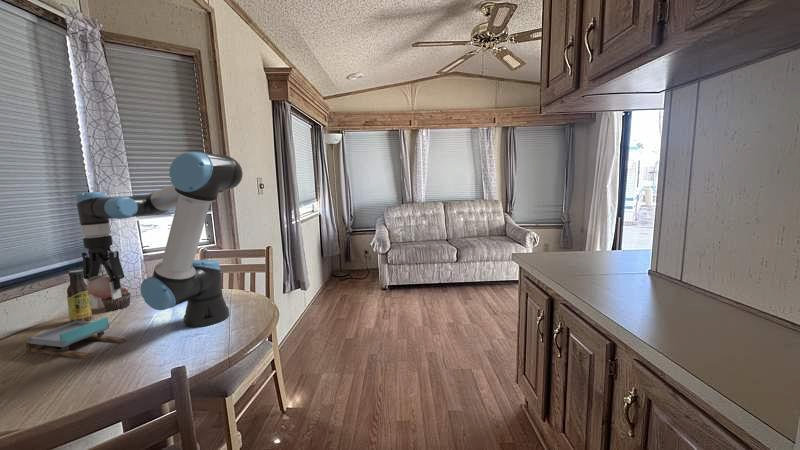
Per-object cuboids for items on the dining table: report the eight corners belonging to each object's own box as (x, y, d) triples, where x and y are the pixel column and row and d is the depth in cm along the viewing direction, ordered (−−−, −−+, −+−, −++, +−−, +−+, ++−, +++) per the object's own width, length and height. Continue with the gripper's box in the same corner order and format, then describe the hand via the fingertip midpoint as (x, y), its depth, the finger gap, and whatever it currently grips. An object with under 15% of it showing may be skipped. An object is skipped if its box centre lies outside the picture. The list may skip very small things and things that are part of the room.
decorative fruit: (103, 303, 113) (98, 275, 112) (83, 303, 115) (79, 275, 114) (129, 294, 123) (125, 268, 121) (111, 294, 124) (107, 268, 123)
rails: (126, 340, 110) (125, 331, 110) (86, 359, 98) (84, 349, 98) (71, 334, 115) (70, 326, 115) (26, 352, 104) (25, 343, 103)
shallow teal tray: (110, 334, 112) (107, 317, 111) (64, 353, 99) (61, 334, 99) (78, 331, 115) (76, 314, 114) (30, 349, 102) (27, 331, 102)
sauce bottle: (78, 325, 123) (70, 273, 121) (65, 324, 125) (57, 273, 122) (97, 318, 130) (90, 269, 127) (85, 317, 131) (77, 268, 128)
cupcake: (136, 305, 143) (134, 283, 142) (109, 313, 134) (106, 289, 133) (125, 302, 147) (122, 280, 146) (97, 309, 139) (94, 287, 137)
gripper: (131, 233, 117) (140, 295, 120) (86, 234, 122) (96, 293, 125) (109, 237, 110) (119, 302, 113) (62, 238, 115) (73, 300, 117)
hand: (107, 297), depth 119 cm, fingers closed on decorative fruit, 8 cm apart
